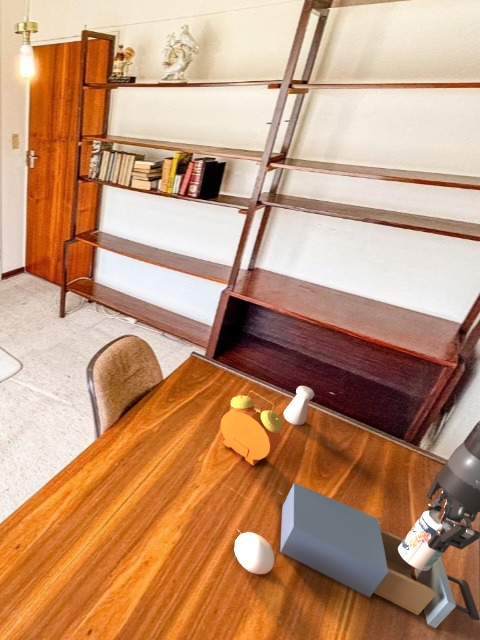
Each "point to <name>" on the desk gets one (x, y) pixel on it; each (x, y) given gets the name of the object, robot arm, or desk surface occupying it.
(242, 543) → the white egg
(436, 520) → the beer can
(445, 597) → the drawer
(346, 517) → the cabinet
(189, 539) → the desk surface
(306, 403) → the salt shaker
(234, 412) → the alarm clock
